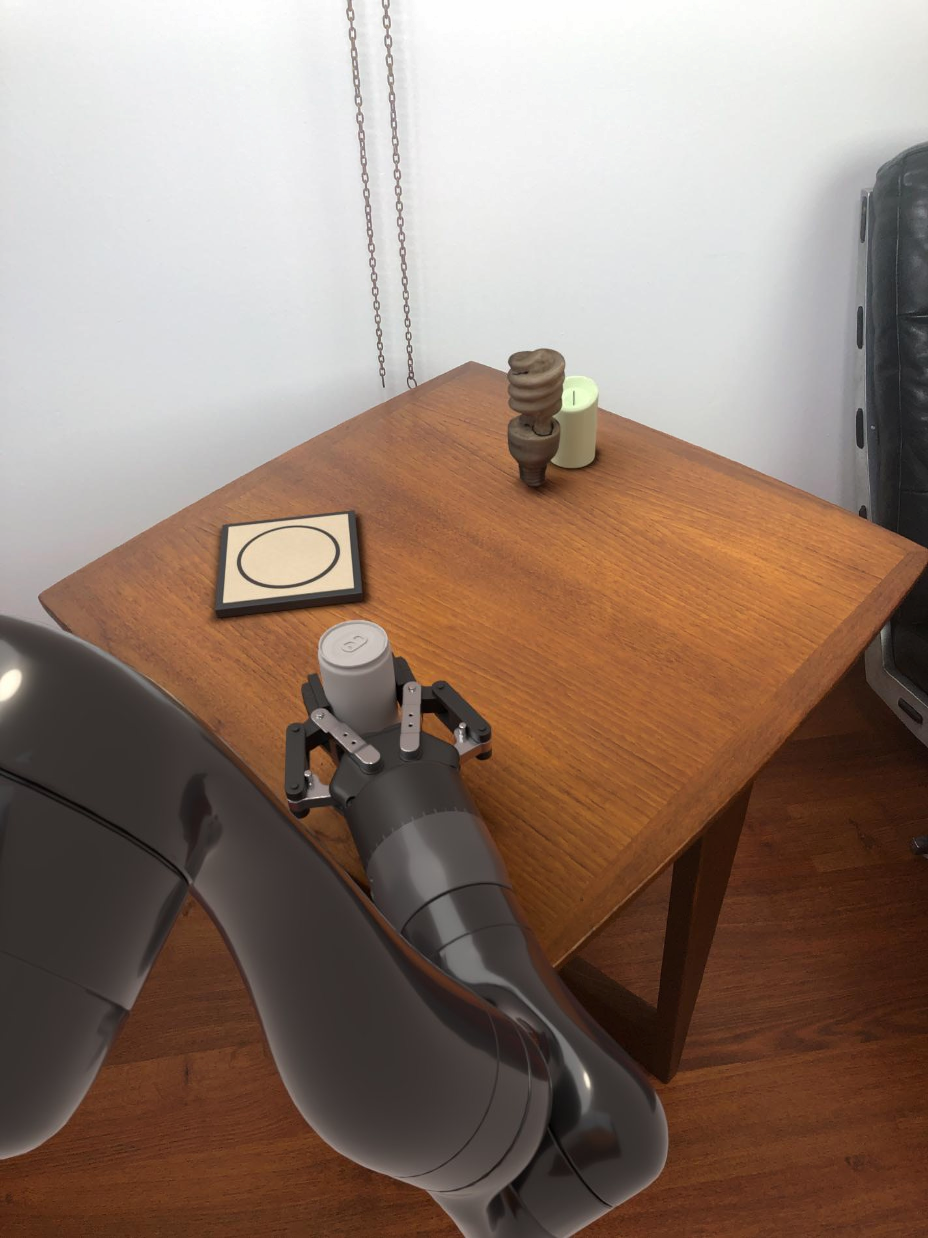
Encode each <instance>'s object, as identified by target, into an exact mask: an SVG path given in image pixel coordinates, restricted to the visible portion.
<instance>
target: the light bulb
mask: <svg viewBox="0 0 928 1238" xmlns="http://www.w3.org/2000/svg"><path fill="white" fill-rule="evenodd" d="M507 364H508V366H509V367H510V369H508V372H507V376H506V377H507V381H508V382H509V384H508V386H507V394H508V396H510V397H509V399H508V401H507V402H508V404H507V405H508V407H509V408H510V409H511V410H512V411H513V412H516V413H518V415H516V416H515V417H513V418H512V419H510V421H509V422H508V424H507V434H506V435H507V436H506V437H507V446H508V451H509V454H510V455H511V457H512V458H513V459H514V460H515V462H516V463H517V464H518V472H519V480H521V481H522V482H523V483H524V484H525V485H528V486H531V488H534V487H535V488H536V487H540V486H541V485H543V484H545V482H546V478H547V475H546V474H547V473H546V472H547V469H548V464H549V463H550V462H551V459H552V458H553V457H554V456H555V455H556V453H557V451H558V448H559V442H560V430H561V426H560V423H559V422H558V421H557V420H556V419H555V418H554V417H552V416H554V415H555V414H557V413H558V412H559V411H560V410H561V408H562V394H563V383H564V380H565V378H566V373H565V369H566V359H565V356H564V355H563V354H562V353H561V352H559V351H557V350H555V349H553V348H545V347H541V348H536V349H534V350H522V351H517V352H515V353H512V354H511V355H510V356H509V357H508V360H507Z"/></svg>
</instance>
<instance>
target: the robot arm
mask: <svg viewBox="0 0 928 1238" xmlns="http://www.w3.org/2000/svg"><path fill="white" fill-rule="evenodd" d="M392 659H393V667H394V675H395V684H396V693H397V702H398V706H399V708H400V709H401V712H400V713H401V714H400V715H401V716H400V723H397V724H394V725H390V726H388V727H386V728H385V729H383V730H381V731H378V732H369V733H364V734H361V735H358V734H357V733H356V732H355V731H353V730H352V729H351V728H350V727H349V726H348V725H347V724H346V723H345V722H343V723H340V722H339V721H338V720H337V719H336V718H335V717H334V716H333V715H332V714H331V710H330V705H329V702H328V700H327V697H326V695H325V692H324V687H323V683H322V681H321V679H320V677H319V674H318V672H313V673H310V674H307V675H306V679H307V682H305V683H302V684H301V688H300V692H301V697H302V700H303V701H302V702H303V705H304V708H305V710H306V714H307V716H308V718H307V720H305V721H304V722H303V723H302V722H297V721H296V722H292V723H290V724H289V725H287V727H286V729H285V755H284V756H285V758H284V759H285V760H284V761H285V762H284V787H283V789H284V793H285V796H286V801H287V805H288V807H287V805H286V804H285V803H284V802H283V801H282V800H281V799H280V798H279V797H278V796H277V795H276V793H275V792H274V791H273V790H272V789H271V788H270V786H268V785H267V784H266V782H264V781H263V779H262V778H261V777H260V776H259V775H258V774H257V773H256V772H255V771H254V770H253V769H252V768H251V767H250V765H249V764H248V763H247V762H246V761H245V760H244V759H243V758H242V757H241V756H240V755H239V753H237V752H236V751H235V749H233V748H232V747H231V746H230V744H229V743H228V742H226V740H225V739H224V738H222V736H221V735H219V734H218V732H216V731H215V730H214V729H213V728H212V727H211V726H210V725H209V724H208V723H207V722H206V721H205V720H204V719H202V717H201V716H199V715H198V714H197V713H196V712H194V711H193V710H192V709H191V708H190V707H189V706H188V705H187V704H185V702H183V701H182V700H180V699H179V698H178V697H177V696H175V695H173V694H172V693H171V692H170V691H168V690H167V689H166V688H165V687H163V686H161V685H160V684H159V683H158V682H156V681H155V680H153V679H152V678H151V677H149V676H148V675H147V674H145V673H144V672H143V671H141V670H139V669H138V668H137V667H135V666H134V665H132V664H131V663H129V662H127V661H125V660H123V659H121V658H120V657H118V656H116V655H114V654H112V653H111V652H108V651H107V650H105V649H104V648H101V647H100V646H97V645H96V644H94V643H91V642H90V641H88V640H86V639H84V638H83V637H80V636H78V635H76V634H75V633H71V632H69V631H66V630H63V629H61V628H58V627H56V626H53V625H51V624H48V623H46V622H42V621H39V620H37V619H34V618H30V617H26V616H21V615H17V614H13V613H9V612H4V611H0V1160H6V1159H10V1158H12V1157H13V1158H14V1157H17V1156H21V1155H23V1154H26V1153H28V1152H30V1151H32V1150H35V1149H37V1148H38V1147H40V1146H41V1145H42V1144H44V1143H46V1142H47V1140H49V1139H50V1138H52V1137H53V1136H55V1135H56V1134H57V1133H59V1132H60V1131H61V1130H62V1128H64V1127H65V1125H67V1124H68V1122H69V1121H70V1120H71V1118H72V1117H73V1115H74V1114H75V1112H76V1111H77V1110H78V1108H79V1107H80V1106H81V1104H82V1103H83V1101H84V1100H85V1098H86V1097H87V1095H88V1094H89V1092H90V1091H91V1088H92V1087H93V1085H94V1084H95V1082H96V1081H97V1080H98V1077H99V1076H100V1073H101V1071H102V1069H103V1068H104V1066H105V1064H106V1062H107V1060H108V1058H109V1057H110V1055H111V1053H112V1051H113V1049H114V1047H115V1046H116V1044H117V1041H118V1039H119V1038H120V1036H121V1034H122V1032H123V1030H124V1028H125V1027H126V1025H127V1022H128V1021H129V1019H130V1016H131V1012H132V1011H133V1010H134V1009H135V1006H136V1004H137V1003H138V1000H139V998H140V995H141V994H142V992H143V989H144V988H145V985H146V983H147V981H148V980H149V977H150V975H151V973H152V971H153V969H154V967H155V965H156V963H157V960H158V959H159V957H160V954H161V952H162V950H163V949H164V946H165V945H166V942H167V940H168V938H169V936H170V934H171V931H173V928H174V925H175V924H176V922H177V920H178V918H179V916H180V913H181V911H182V909H183V908H184V905H185V903H186V901H187V899H188V897H189V895H190V896H191V897H192V898H193V899H194V900H195V901H196V902H197V903H198V905H199V906H200V907H201V909H202V910H203V911H204V913H205V914H206V915H207V916H208V918H209V919H210V920H211V922H212V924H213V925H214V926H215V928H216V930H217V932H218V934H219V936H220V938H221V939H222V942H223V943H224V944H225V947H226V949H227V951H228V952H229V955H230V956H231V958H232V960H233V962H234V963H235V966H236V968H237V969H236V970H237V971H238V973H239V976H240V978H241V980H242V982H243V985H244V987H245V990H246V993H247V994H248V997H249V1000H250V1002H251V1006H252V1008H253V1011H254V1013H255V1016H256V1019H257V1021H258V1022H257V1023H258V1024H259V1026H260V1030H261V1032H262V1035H263V1038H264V1040H265V1043H266V1045H267V1048H268V1051H269V1053H270V1056H271V1059H272V1062H273V1063H274V1066H275V1069H276V1071H277V1074H278V1076H279V1078H280V1080H281V1082H282V1084H283V1086H284V1088H285V1090H286V1092H287V1094H288V1095H289V1097H290V1099H291V1101H292V1102H293V1104H294V1106H295V1107H296V1108H297V1111H298V1112H299V1113H300V1115H301V1116H302V1119H304V1121H305V1122H306V1123H307V1124H308V1125H309V1126H310V1127H311V1128H312V1130H313V1131H314V1133H316V1134H317V1135H318V1136H319V1137H320V1138H321V1139H322V1140H323V1142H325V1143H326V1144H327V1145H328V1146H329V1147H330V1148H332V1149H333V1150H334V1151H336V1152H337V1153H338V1154H340V1155H342V1156H344V1157H345V1158H347V1159H349V1160H350V1161H352V1162H354V1163H356V1164H358V1165H360V1166H362V1167H364V1168H366V1169H369V1170H371V1171H374V1172H375V1173H376V1172H377V1173H379V1174H383V1175H385V1176H388V1177H391V1178H393V1179H395V1180H398V1181H401V1182H402V1183H403V1182H404V1183H406V1184H409V1185H412V1186H415V1187H417V1188H419V1189H422V1190H424V1191H425V1192H427V1193H428V1194H429V1195H430V1196H431V1197H432V1199H433V1200H434V1201H435V1202H436V1203H437V1204H438V1205H439V1206H440V1208H441V1209H442V1210H443V1211H444V1212H445V1213H446V1214H447V1215H448V1216H449V1217H450V1219H451V1220H452V1221H453V1222H454V1224H455V1225H456V1227H457V1228H458V1230H459V1231H460V1233H462V1235H463V1236H464V1238H571V1236H574V1235H575V1234H577V1233H579V1231H581V1230H582V1229H584V1228H586V1227H587V1226H589V1225H591V1224H592V1223H593V1222H595V1221H596V1220H598V1219H599V1218H601V1217H602V1216H604V1215H606V1214H607V1213H609V1212H610V1211H612V1210H613V1209H615V1208H616V1207H618V1206H620V1205H621V1204H624V1203H625V1202H627V1201H628V1200H629V1199H631V1198H632V1197H634V1196H636V1195H637V1194H639V1193H640V1192H642V1191H643V1190H644V1189H646V1188H648V1187H649V1186H650V1185H651V1184H652V1183H653V1182H654V1181H656V1179H658V1177H659V1176H660V1175H661V1173H662V1172H663V1170H664V1168H665V1165H666V1162H667V1159H668V1152H669V1143H670V1141H669V1140H670V1138H669V1126H668V1125H669V1124H668V1121H667V1120H668V1119H667V1115H666V1111H665V1108H664V1105H663V1103H662V1100H661V1098H660V1095H659V1094H658V1092H657V1090H656V1088H655V1086H654V1085H653V1083H652V1082H651V1080H650V1079H649V1078H648V1076H647V1075H646V1074H645V1073H644V1071H643V1070H642V1068H640V1066H638V1064H637V1063H636V1062H635V1060H634V1059H633V1058H632V1057H631V1056H630V1055H629V1054H628V1052H626V1051H625V1050H624V1049H623V1048H622V1047H621V1045H620V1044H619V1043H618V1042H617V1041H616V1040H615V1039H614V1038H613V1037H612V1036H611V1035H610V1034H609V1033H608V1032H607V1031H606V1030H605V1029H604V1028H603V1027H602V1026H601V1025H600V1024H599V1023H598V1021H596V1019H594V1017H593V1016H592V1015H591V1014H590V1013H589V1012H588V1010H586V1008H585V1007H584V1006H583V1005H582V1004H581V1003H580V1001H579V1000H578V999H577V998H576V996H575V995H574V994H573V993H572V991H571V990H570V989H569V987H568V986H567V985H566V983H565V982H564V980H563V979H562V978H561V976H560V975H559V973H558V972H557V971H556V969H555V968H554V966H553V965H552V963H551V961H550V960H549V958H548V957H547V955H546V953H545V951H544V949H543V947H542V945H541V944H540V942H539V940H538V937H537V935H536V933H535V931H534V930H533V929H534V928H533V927H532V925H531V923H530V920H529V919H528V917H527V914H526V912H525V911H524V909H523V907H522V904H521V903H520V900H519V899H518V896H517V894H516V893H515V890H514V888H513V885H512V882H511V879H510V876H509V872H508V869H507V866H506V864H505V861H504V858H503V857H502V855H501V852H500V850H499V849H498V846H497V844H496V841H495V840H494V838H493V836H492V834H491V832H490V830H489V828H488V826H487V824H486V822H485V820H484V818H483V816H482V814H481V811H480V810H479V808H478V805H477V803H476V802H475V800H474V798H473V795H472V794H471V793H472V792H471V791H470V789H469V787H468V785H467V783H466V782H465V780H464V778H463V775H462V774H461V771H462V770H461V769H462V766H461V765H463V764H465V763H467V762H468V761H470V760H472V759H474V758H475V759H476V760H479V761H487V760H489V759H490V758H491V757H492V755H493V741H492V739H493V738H492V735H493V734H492V726H491V724H490V723H489V722H488V721H487V720H486V719H485V718H484V717H483V716H482V715H481V714H480V713H479V712H478V711H477V710H476V709H475V708H474V707H473V706H472V705H471V704H470V703H469V702H468V701H467V700H466V699H465V698H464V697H463V696H462V695H461V694H460V693H459V692H458V691H457V690H456V689H454V687H453V686H452V685H451V684H450V683H449V682H448V681H446V680H443V679H441V680H436V681H434V682H433V683H432V684H431V685H422V684H420V683H419V682H418V681H417V679H416V677H415V676H414V673H413V671H412V669H411V667H410V665H409V664H408V661H407V660H406V658H404V657H403V656H402V655H400V656H397V657H396V656H395V653H394V652H393V651H392ZM424 714H425V715H426V714H433V715H434V716H435V717H436V718H437V719H438V720H439V721H440V722H441V724H443V725H444V726H445V728H446V729H448V731H449V732H450V733H451V734H452V735H453V741H454V744H452V743H450V742H447V741H446V740H443V739H441V738H439V737H437V736H434V735H433V734H430V733H428V732H427V731H424ZM318 747H319V748H320V749H322V750H323V752H324V753H325V754H327V756H329V757H330V759H331V761H332V762H333V764H334V766H335V768H336V769H335V771H334V773H333V775H332V777H331V780H330V782H329V783H328V784H324V783H322V782H321V780H320V777H319V776H318V775H317V774H316V773H313V772H312V770H311V751H313V750H315V749H316V748H318ZM325 807H332V808H333V810H334V811H335V812H336V813H338V814H340V816H342V817H343V818H344V819H345V821H346V824H347V827H348V829H349V831H350V835H351V837H352V840H353V843H354V846H355V848H356V851H357V854H358V857H359V859H360V862H361V865H362V868H363V871H364V874H365V876H366V880H367V882H368V885H369V887H370V896H371V899H370V898H369V897H368V896H367V894H365V892H364V891H363V890H362V889H361V888H360V887H359V886H358V884H357V883H356V882H355V881H354V880H353V878H352V877H351V876H350V875H349V873H348V872H347V871H346V870H345V869H344V867H343V866H342V865H341V864H340V863H339V862H338V861H337V859H336V858H335V857H334V856H333V855H332V854H331V852H329V850H328V849H327V848H326V847H325V846H324V845H323V844H322V842H320V841H319V840H318V839H317V838H316V836H315V835H314V834H313V833H312V832H311V831H310V830H309V829H308V828H307V826H305V824H303V823H302V822H301V821H300V820H302V819H304V818H306V817H308V815H310V812H311V809H317V808H325ZM371 900H372V901H373V902H372V901H371ZM531 1035H535V1038H536V1040H537V1042H536V1041H535V1039H534V1038H533V1037H532V1036H531ZM537 1043H538V1044H537Z"/></svg>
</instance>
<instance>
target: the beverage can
mask: <svg viewBox="0 0 928 1238" xmlns="http://www.w3.org/2000/svg"><path fill="white" fill-rule="evenodd" d="M317 646H318V651H317V658H318V665H319V670H320V675H321V676H320V677H321V680H322V681H321V682H322V687H323V689H324V692H325V695H326V697H327V700H328V702H329V705H330V710H331V714H332V715H333V716H334V717H335V718H336V719H337V720H338V721H339V722H340V723H343V722H345V723H346V724H347V725H348V726H349V727H350V728H351V729H352V730H353V731H355V732H356V733H357V734H358V735H361V734H364V733H369V732H378V731H381V730H383V729H385V728H386V727H388V726H390V725H394V724H397V723H400V722H401V717H400V710H399V703H398V701H397V693H396V684H395V675H394V667H393V659H392V652H393V651H392V646H391V641H390V640H389V638H388V633H387V632H386V630H385V629H384V628H383V627H382V626H380V624H377V623H375V622H373V621H368V620H365V619H351V620H346V621H343V622H339V623H336V624H335V625H333V626H331V627H330V628H328V629H327V630H326V631H324V632H323V634H322V635H321V637H320V638H319V641H318V645H317Z"/></svg>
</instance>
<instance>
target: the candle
mask: <svg viewBox="0 0 928 1238" xmlns="http://www.w3.org/2000/svg"><path fill="white" fill-rule="evenodd" d="M599 392H600V391H599V387H598V385H597V383H596V382H595V381H594V380H593V379H591V378H589V377H588V376H583V375H569V376H567V377H566V376H565V380H564V383H563V394H562V408H561V410H560V411H559V412H558V413H557V414H555V415H554V416H552V417H554V418H555V419H556V420H557V421H558V422H559V423H560V426H561V430H560V442H559V448H558V451H557V453H556V455H555V456H554V457H553V458H552V459H551V461H550V462H551V463H552V464H554V465H555V466H558V467H561V468H564V469H578V468H583V467H586V466H588V465H590V464H591V463H592V462H593V461H594V460H595V457H596V445H597V444H596V443H597V442H596V441H597V427H598V412H599V411H598V409H599V396H600V395H599V394H600V393H599Z"/></svg>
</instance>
